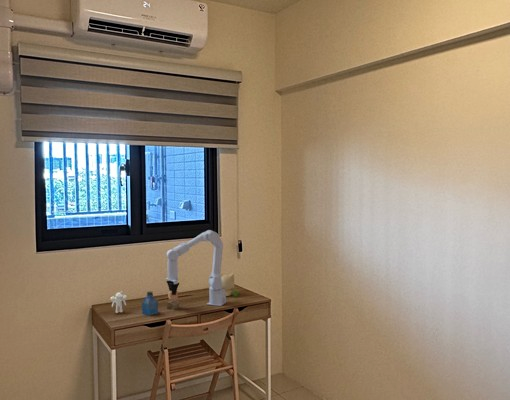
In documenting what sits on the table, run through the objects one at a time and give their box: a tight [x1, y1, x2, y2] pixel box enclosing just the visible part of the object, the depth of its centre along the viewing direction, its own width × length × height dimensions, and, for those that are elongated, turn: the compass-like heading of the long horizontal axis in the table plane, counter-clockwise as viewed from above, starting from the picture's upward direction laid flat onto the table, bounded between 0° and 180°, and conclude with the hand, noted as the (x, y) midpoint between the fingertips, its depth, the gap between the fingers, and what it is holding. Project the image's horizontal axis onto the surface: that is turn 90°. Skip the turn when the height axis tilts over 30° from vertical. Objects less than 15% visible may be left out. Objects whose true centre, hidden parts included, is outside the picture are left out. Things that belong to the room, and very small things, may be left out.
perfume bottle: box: [141, 291, 159, 317], centre depth 263 cm, size 6×6×12 cm
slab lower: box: [166, 304, 180, 311], centre depth 273 cm, size 5×5×2 cm
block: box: [167, 290, 179, 301], centre depth 272 cm, size 4×4×4 cm
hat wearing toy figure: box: [110, 290, 128, 314], centre depth 265 cm, size 9×4×12 cm, turn 118°
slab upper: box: [166, 300, 180, 307], centre depth 273 cm, size 5×5×2 cm
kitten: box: [220, 272, 239, 298], centre depth 299 cm, size 15×10×15 cm
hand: (172, 293), depth 272 cm, fingers closed on block, 4 cm apart
